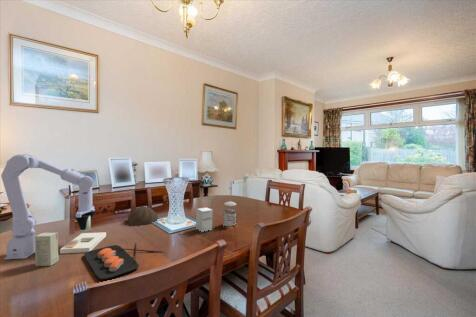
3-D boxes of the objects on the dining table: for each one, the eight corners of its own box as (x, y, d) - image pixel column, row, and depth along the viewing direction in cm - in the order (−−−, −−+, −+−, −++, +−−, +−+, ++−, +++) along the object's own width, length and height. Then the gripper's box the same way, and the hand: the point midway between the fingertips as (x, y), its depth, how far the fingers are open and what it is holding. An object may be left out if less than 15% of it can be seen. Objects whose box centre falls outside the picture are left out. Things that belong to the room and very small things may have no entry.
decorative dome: (148, 227, 139) (148, 211, 139) (119, 224, 143) (119, 209, 143) (164, 218, 158) (164, 204, 158) (138, 216, 162) (138, 202, 162)
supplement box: (201, 232, 132) (202, 211, 132) (195, 229, 138) (196, 208, 137) (212, 230, 137) (213, 209, 136) (206, 226, 143) (206, 207, 142)
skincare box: (59, 261, 95) (59, 232, 95) (50, 266, 91) (50, 236, 90) (43, 260, 95) (43, 232, 94) (34, 266, 90) (34, 235, 90)
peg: (87, 232, 110) (87, 217, 110) (77, 232, 110) (77, 218, 110) (92, 229, 115) (92, 215, 115) (82, 229, 114) (82, 215, 114)
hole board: (89, 252, 104) (89, 247, 104) (59, 253, 102) (59, 248, 101) (106, 235, 123) (106, 231, 123) (81, 236, 121) (81, 232, 121)
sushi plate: (82, 256, 100) (82, 248, 100) (149, 239, 121) (149, 232, 121) (99, 285, 80) (99, 275, 80) (176, 259, 101) (176, 250, 101)
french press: (239, 226, 145) (240, 187, 144) (222, 228, 140) (223, 188, 140) (234, 222, 154) (235, 185, 153) (217, 223, 150) (218, 185, 149)
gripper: (87, 203, 105) (87, 232, 106) (100, 197, 120) (100, 222, 120) (70, 204, 104) (70, 233, 105) (85, 197, 118) (85, 223, 119)
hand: (85, 227), depth 112 cm, fingers closed on peg, 4 cm apart
